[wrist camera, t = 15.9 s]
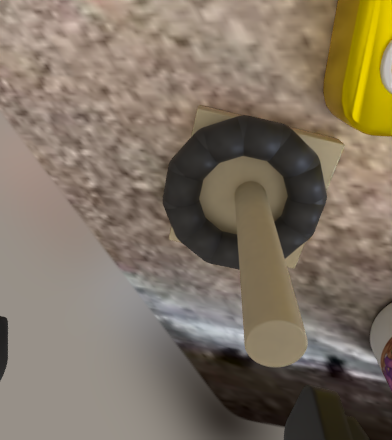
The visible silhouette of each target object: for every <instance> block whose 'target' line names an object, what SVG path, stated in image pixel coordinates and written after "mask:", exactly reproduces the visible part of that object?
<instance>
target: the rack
mask: <svg viewBox="0 0 392 440" xmlns="http://www.w3.org/2000/svg"><path fill="white" fill-rule="evenodd" d="M237 116H241V115H239V114H235V113H230V112H226V111H222V110H218V109H214V108H210V107H206V106H202V105H199V106H198V109H197V112H196V117H195V121H194V126H193V130H192V135H191V137H192V136H193V135H194V133H195V132H196V131H198V130H199V129H201V128H203V127H206V126H209V125H212V124H215V123H218V122H221V121H224V120H227V119H230V118H234V117H237ZM290 128H291V129H292V130H293V131H294V132H295V133H296V134H297V135H298V136H299V137H300V138H301V139H302V140H303V141H304V142H305V143H306V144H307V145H308V146H309V147H310V148H312V149H313V150H314V151H315V152H316V154H317V155H318V157H319V159H320V163H321V168H322V173H323V178H324V183H325V188H326V191H327V188H328V186H329V183H330V181H331V178H332V176H333V173H334V171H335V168H336V166H337V164H338V161H339V159H340V156H341V154H342V151H343V149H344V146H345V144H343V143H342V142H341V141H340V140H339V139H337V138H332V137H328V136H324V135H320V134H316V133H312V132H308V131H304V130H300V129H296V128H292V127H290ZM287 197H288V195H287V191H286V187H285V183H284V179H283V176H282V175H281V174H280V173H279V172H278V171H277V170H276V169H275V168H274V167H272V166H271V165H270V164H269V163H268V162H267V161H264V160H259V159H255V158H250V157H246V156H241V157H238V158H234V159H231V160H228V161H224V162H221V163H219V164H218V165H217V166H216V167H215V168H214V169H213V170H212V171H211V172H210V173H209V174H208V175H207V176H206V177H205V178H204V180H203V184H202V189H201V193H200V198H199V200H200V203H201V206H202V209H203V212H204V215H205V217H206V218H207V219H208V220H209V221H210V222H211V223H212V224H214V225H215V226H216V227H217V228H218V229H220V230H221V231H223V232H228V233H233V234H237V239H238V253H239V268H240V282H241V297H242V311H243V326H244V341H245V349H246V351H247V353H248V355H249V356H250V357H251V358H252V359H253V360H254V361H256V362H257V363H259V364H261V365H264V366H268V367H283V366H287V365H290V364H292V363H294V362H296V361H297V360H299V359H300V358H301V357H302V356H303V354H304V353H305V351H306V348H307V343H308V341H307V336H306V333H305V329H304V325H303V322H302V318H301V315H300V311H299V308H298V304H297V301H296V297H295V294H294V290H293V286H292V283H291V279H290V276H289V272H288V269H287V267H289V268H293V269H294V268H295V266H296V264H297V261H298V259H299V257H300V254H301V252H302V249H303V247H304V244H305V243H304V244H302V245H301V246H300V247H299V248H297V249H296V250H295V251H294V252H293V253H291V254H290V255H289V256H288V257H287V258H284V255H283V251H282V248H281V244H280V240H279V237H278V233H277V230H276V226H275V223H274V221H276V220H277V219H278V218H279V217H280V216H281V215H282V212H283V209H284V206H285V203H286V200H287ZM169 240H172V241H176V242H180V241H179V240H178V239H177V237H176V235H175V233H174V231H173V228H172V226H171V230H170V235H169ZM181 243H182V242H181Z"/></svg>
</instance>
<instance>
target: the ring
mask: <svg viewBox="0 0 392 440" xmlns="http://www.w3.org/2000/svg"><path fill="white" fill-rule="evenodd" d="M241 156H246V157H250V158H255V159H259V160H264V161H267V162H268V163H269V164H270V165H271V166H272V167H274V168H275V169H276V170H277V171H278V172H279V173H280V174H281V175H282V176H283V179H284V183H285V187H286V191H287V195H288V197H287V200H286V203H285V206H284V209H283V212H282V215H281V216H280V217H279V218H278V219H277V220H276V221H274V223H275V226H276V230H277V233H278V237H279V240H280V244H281V248H282V251H283V255H284V258H287V257H288V256H289V255H290V254H291V253H293V252H294V251H295V250H296V249H297V248H299V247H300V246H301V245H302V244H304V243H305V242H306V241H307V240H308V239H310V237H311V236H312V235H313V233H314V231H315V229H316V226H317V224H318V221H319V218H320V216H321V213H322V211H323V208H324V206H325V203H326V199H327V193H326V188H325V183H324V178H323V173H322V168H321V163H320V159H319V157H318V155H317V154H316V152H315V151H314V150H313V149H312V148H310V147H309V146H308V145H307V144H306V143H305V142H304V141H303V140H302V139H301V138H300V137H299V136H298V135H297V134H296V133H295V132H294V131H293V130H292V129H291V128H290V127H289V126H287V125H285V124H282V123H278V122H273V121H269V120H264V119H260V118H255V117H251V116H246V115H241V116H237V117H234V118H230V119H227V120H224V121H221V122H218V123H215V124H212V125H209V126H206V127H203V128H201V129H199V130H198V131H196V132H195V133H194V135H193V136H192V137H191V138H190V139H189V140H188V141H187V142H186V144H185V145H184V146H183V147H182V148H181V149H180V150H179V151H178V152H177V154H176V155H175V156H174V157H173V158H172V160H171V161H170V163H169V167H168V172H167V178H166V183H165V189H164V195H163V205H164V208H165V211H166V213H167V216H168V218H169V221H170V223H171V226H172V228H173V231H174V233H175V235H176V237H177V239H178V240H179V241H180V242H182V243H183V244H184V245H185V246H187V247H188V248H189V249H190V250H192V251H193V252H194V253H195V254H197V255H198V256H199V257H200V258H202V259H203V260H204V261H206V262H208V263H211V264H216V265H221V266H225V267H230V268H235V269H240V268H239V253H238V239H237V234H233V233H228V232H223V231H221V230H220V229H218V228H217V227H216V226H215V225H214V224H212V223H211V222H210V221H209V220H208V219H207V218H206V217H205V215H204V212H203V209H202V206H201V203H200V200H199V198H200V193H201V189H202V184H203V180H204V178H205V177H206V176H207V175H208V174H209V173H210V172H211V171H212V170H213V169H214V168H215V167H216V166H217V165H218V164H219V163H221V162H224V161H228V160H231V159H234V158H238V157H241Z"/></svg>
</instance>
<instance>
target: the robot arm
mask: <svg viewBox="0 0 392 440" xmlns="http://www.w3.org/2000/svg"><path fill="white" fill-rule="evenodd" d="M7 360H8V321H7V318H5V317H1V316H0V380H1V378H2V376H3V374H4V372H5V369H6V365H7ZM284 440H370V439H369V437H368V436H367V435H366V433H365V432H364V430H363V429H362V428H361V426H360V425H359V423H358V422H357V420H356V419H355V418H354V417H350V416H346V415H345V412H344V409H343V406H342V403H341V400H340V397H339V395H338V394H337V392H335V391H332V390H327V389H323V388H318V387H314V386H309V385H306V386H305V387H304V388H303V390H302V392H301V394H300V396H299V398H298V400H297V402H296V404H295V406H294V408H293V410H292V412H291V414H290V416H289V418H288V420H287V422H286V426H285V431H284Z"/></svg>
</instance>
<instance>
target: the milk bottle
mask: <svg viewBox="0 0 392 440" xmlns="http://www.w3.org/2000/svg"><path fill="white" fill-rule="evenodd" d="M370 344H371V348H372V350H373V352H374V355H375V357H376V359H377V362H378V364H379V366H380V368H381V370H382V372H383V374H384V376H385V378H386V380H387V382H388V385H389V387H390V389H391V391H392V303H390V304H389V305H387V306H386V307H385V308H384V309H383V310H382V311H381V312H380V313H379V314H378V316H377V317H376V318H375V320H374V322H373V324H372V327H371V332H370Z"/></svg>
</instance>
